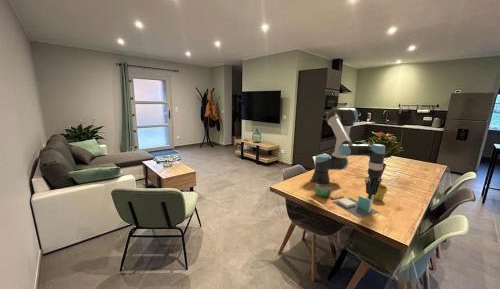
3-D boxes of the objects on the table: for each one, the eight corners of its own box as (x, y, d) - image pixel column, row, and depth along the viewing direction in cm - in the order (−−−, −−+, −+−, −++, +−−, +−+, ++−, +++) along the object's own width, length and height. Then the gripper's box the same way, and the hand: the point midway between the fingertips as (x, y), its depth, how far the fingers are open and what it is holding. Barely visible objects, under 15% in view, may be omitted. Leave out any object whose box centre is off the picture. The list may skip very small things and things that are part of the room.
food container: (311, 196, 153) (312, 183, 151) (315, 194, 157) (316, 181, 155) (327, 202, 145) (328, 189, 143) (331, 199, 149) (332, 186, 147)
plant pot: (370, 194, 159) (372, 182, 157) (386, 198, 152) (388, 186, 150) (367, 199, 151) (369, 186, 149) (384, 203, 145) (386, 190, 143)
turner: (334, 202, 145) (335, 199, 145) (328, 198, 151) (328, 195, 150) (353, 198, 152) (353, 195, 152) (346, 194, 158) (346, 191, 157)
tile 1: (346, 200, 145) (337, 202, 142) (346, 198, 145) (337, 200, 142) (355, 206, 138) (347, 208, 135) (356, 203, 138) (347, 205, 135)
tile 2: (357, 206, 137) (358, 195, 136) (359, 206, 138) (360, 195, 136) (368, 212, 130) (369, 200, 128) (370, 212, 131) (372, 200, 129)
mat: (331, 203, 143) (331, 201, 143) (350, 199, 150) (350, 197, 150) (359, 220, 124) (359, 218, 123) (379, 214, 131) (379, 212, 131)
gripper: (373, 171, 125) (368, 207, 129) (387, 169, 130) (382, 204, 135) (362, 168, 131) (357, 202, 136) (376, 165, 137) (371, 199, 141)
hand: (370, 203), depth 135 cm, fingers closed
